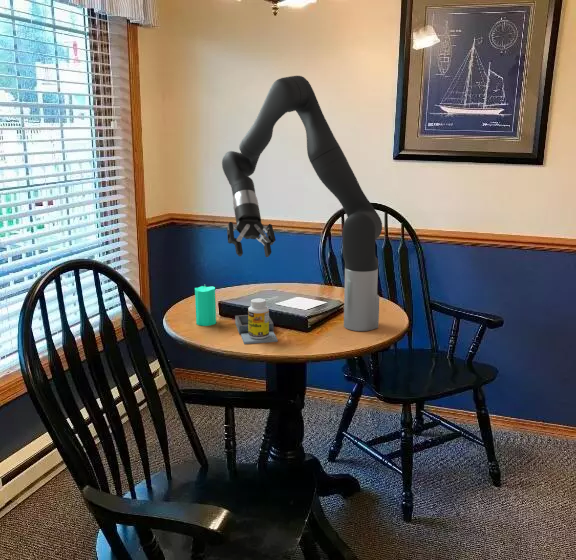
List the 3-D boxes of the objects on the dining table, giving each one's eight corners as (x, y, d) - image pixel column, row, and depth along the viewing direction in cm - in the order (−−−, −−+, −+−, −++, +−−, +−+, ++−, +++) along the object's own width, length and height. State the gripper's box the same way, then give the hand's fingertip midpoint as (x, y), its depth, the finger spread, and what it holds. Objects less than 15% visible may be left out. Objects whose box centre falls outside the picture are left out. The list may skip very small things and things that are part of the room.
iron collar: (267, 321, 175) (267, 313, 174) (273, 332, 166) (273, 323, 165) (235, 323, 173) (235, 315, 172) (239, 334, 164) (239, 325, 163)
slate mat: (273, 333, 165) (273, 331, 164) (277, 341, 158) (277, 339, 158) (241, 335, 163) (241, 333, 163) (244, 344, 157) (244, 341, 156)
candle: (220, 321, 175) (219, 282, 172) (206, 327, 170) (205, 286, 167) (205, 318, 178) (204, 279, 175) (191, 323, 174) (189, 283, 171)
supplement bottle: (244, 337, 160) (243, 301, 157) (255, 331, 164) (255, 296, 162) (262, 341, 157) (261, 304, 154) (272, 335, 162) (272, 299, 159)
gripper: (227, 200, 174) (235, 248, 167) (272, 203, 180) (281, 250, 173) (220, 213, 180) (227, 261, 173) (264, 216, 186) (272, 262, 179)
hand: (254, 255), depth 173 cm, fingers open, 8 cm apart
